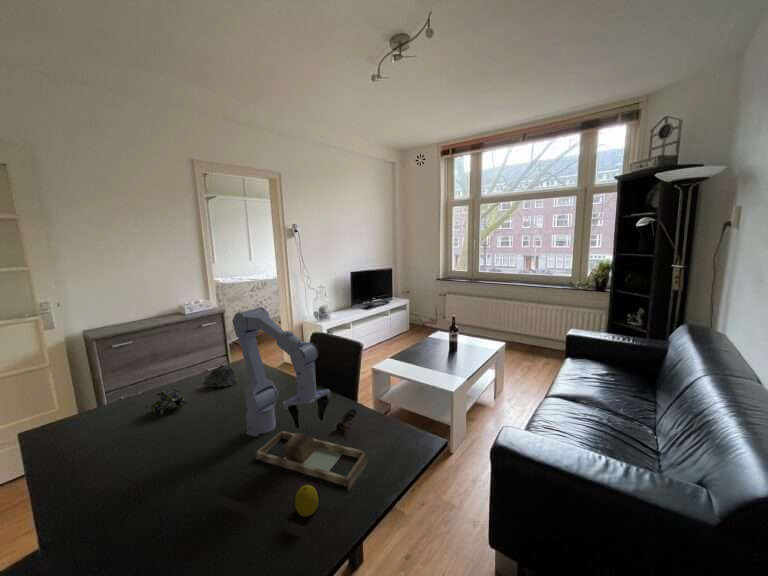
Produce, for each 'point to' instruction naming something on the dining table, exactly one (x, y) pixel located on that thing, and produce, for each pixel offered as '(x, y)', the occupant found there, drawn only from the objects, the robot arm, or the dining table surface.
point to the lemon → (306, 500)
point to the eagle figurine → (345, 421)
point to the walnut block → (299, 448)
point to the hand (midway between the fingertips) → (309, 423)
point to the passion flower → (169, 398)
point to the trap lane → (317, 460)
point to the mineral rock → (221, 377)
